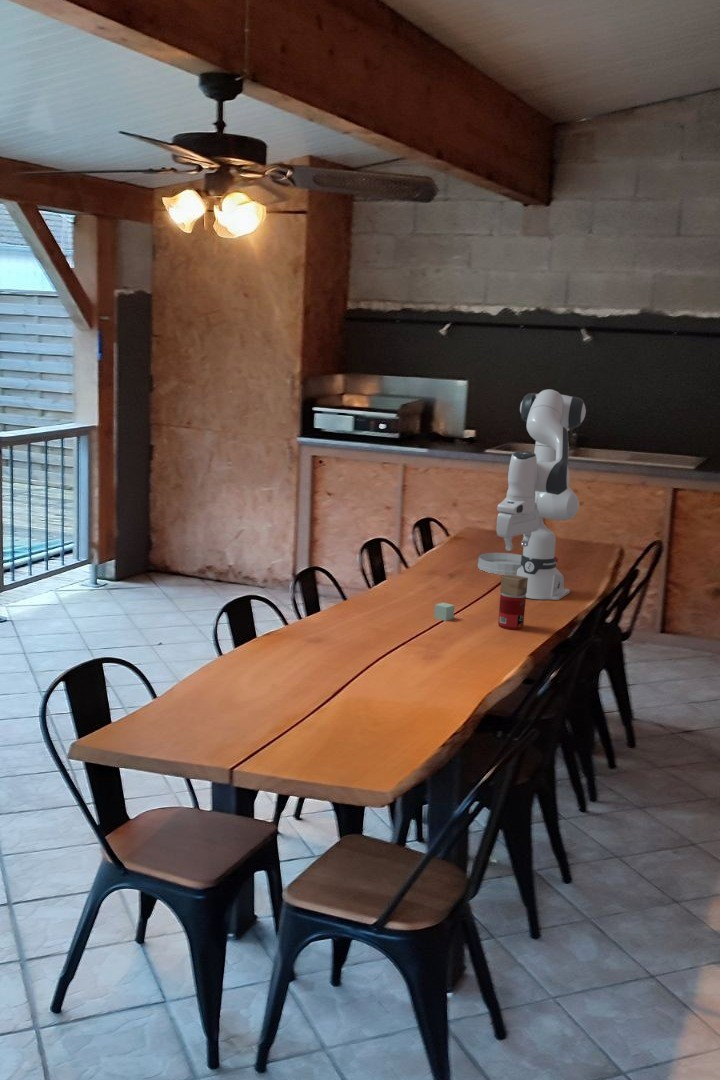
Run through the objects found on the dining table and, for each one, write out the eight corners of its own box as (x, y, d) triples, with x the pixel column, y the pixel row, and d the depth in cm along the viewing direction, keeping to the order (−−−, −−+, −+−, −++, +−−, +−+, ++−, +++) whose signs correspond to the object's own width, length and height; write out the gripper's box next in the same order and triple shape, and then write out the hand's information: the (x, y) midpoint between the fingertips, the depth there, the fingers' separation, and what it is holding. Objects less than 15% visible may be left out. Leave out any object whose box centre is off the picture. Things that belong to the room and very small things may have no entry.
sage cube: (441, 615, 345) (442, 602, 344) (453, 618, 342) (454, 605, 341) (434, 618, 341) (434, 604, 340) (445, 621, 339) (446, 607, 338)
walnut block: (510, 589, 338) (511, 574, 337) (526, 593, 334) (527, 577, 333) (500, 592, 333) (501, 576, 332) (516, 596, 330) (518, 580, 329)
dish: (475, 574, 410) (476, 561, 409) (478, 562, 431) (479, 550, 430) (533, 579, 406) (534, 566, 405) (534, 567, 428) (535, 555, 427)
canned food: (522, 631, 331) (525, 596, 329) (496, 628, 333) (499, 594, 331) (523, 624, 339) (526, 591, 337) (498, 622, 340) (501, 588, 338)
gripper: (528, 499, 338) (524, 542, 341) (494, 506, 322) (491, 550, 325) (545, 502, 334) (542, 545, 337) (512, 509, 319) (509, 554, 321)
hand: (516, 548), depth 331 cm, fingers open, 8 cm apart
